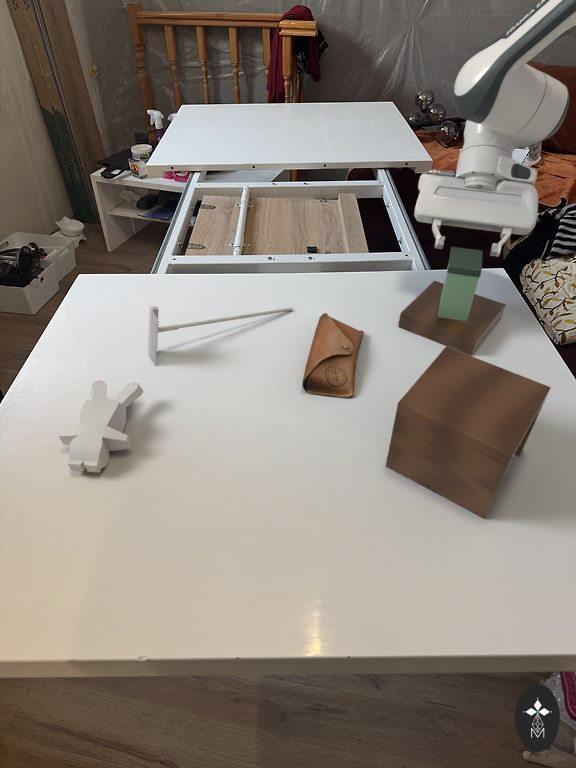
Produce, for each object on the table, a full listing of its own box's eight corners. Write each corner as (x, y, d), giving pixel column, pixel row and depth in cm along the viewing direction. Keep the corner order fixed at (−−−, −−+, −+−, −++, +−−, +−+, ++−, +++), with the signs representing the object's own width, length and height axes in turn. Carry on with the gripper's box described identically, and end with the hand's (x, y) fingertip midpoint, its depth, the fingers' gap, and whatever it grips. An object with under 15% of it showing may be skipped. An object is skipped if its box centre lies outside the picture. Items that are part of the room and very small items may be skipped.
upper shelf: (522, 450, 74) (551, 387, 66) (485, 519, 66) (512, 455, 58) (430, 408, 81) (446, 345, 73) (385, 466, 72) (397, 402, 64)
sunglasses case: (356, 397, 82) (336, 366, 78) (316, 409, 85) (296, 379, 81) (365, 329, 95) (348, 300, 91) (330, 341, 98) (313, 314, 95)
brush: (294, 339, 101) (306, 299, 95) (154, 366, 88) (157, 321, 82) (285, 327, 104) (295, 287, 97) (147, 351, 90) (148, 306, 84)
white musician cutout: (42, 455, 68) (82, 370, 78) (55, 476, 72) (92, 393, 82) (114, 460, 68) (145, 374, 78) (123, 481, 71) (152, 396, 81)
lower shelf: (501, 317, 99) (505, 304, 97) (471, 355, 90) (475, 341, 88) (431, 293, 105) (434, 280, 103) (397, 326, 96) (400, 313, 94)
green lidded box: (440, 295, 99) (451, 246, 92) (469, 300, 97) (482, 250, 91) (437, 317, 93) (448, 266, 87) (467, 322, 92) (481, 271, 86)
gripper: (422, 159, 92) (406, 236, 91) (547, 172, 87) (531, 253, 87) (420, 176, 98) (405, 248, 98) (538, 189, 94) (523, 265, 93)
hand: (466, 251), depth 92 cm, fingers open, 8 cm apart
